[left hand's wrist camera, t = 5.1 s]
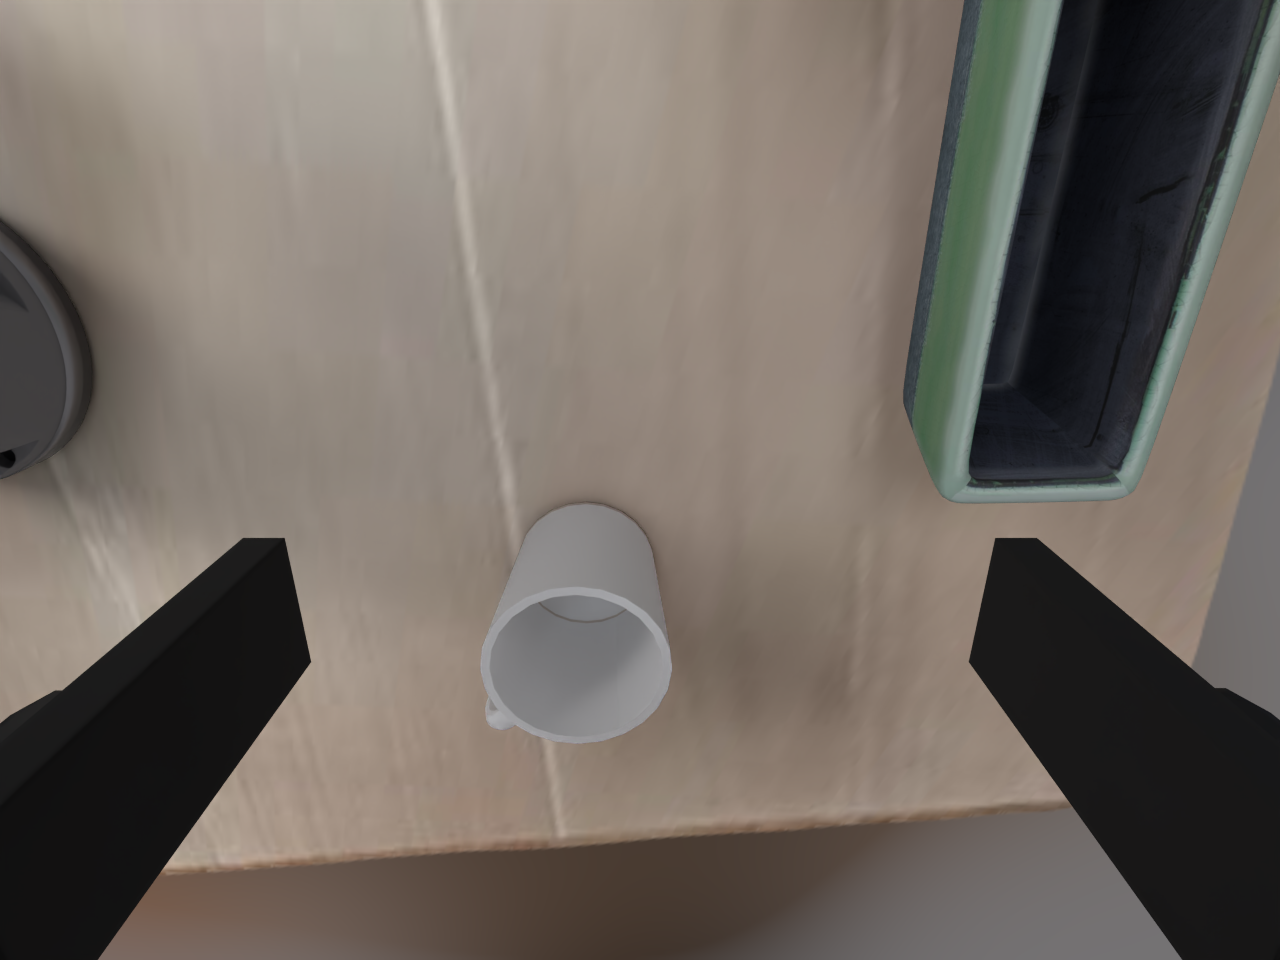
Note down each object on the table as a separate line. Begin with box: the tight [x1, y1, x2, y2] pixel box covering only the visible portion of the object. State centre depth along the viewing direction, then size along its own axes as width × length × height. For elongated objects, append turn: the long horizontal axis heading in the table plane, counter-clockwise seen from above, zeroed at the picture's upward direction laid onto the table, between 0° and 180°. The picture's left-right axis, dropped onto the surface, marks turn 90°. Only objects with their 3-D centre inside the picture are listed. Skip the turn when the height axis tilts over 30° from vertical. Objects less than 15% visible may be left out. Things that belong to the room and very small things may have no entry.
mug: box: [480, 502, 672, 744], centre depth 37 cm, size 11×9×10 cm
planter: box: [903, 0, 1280, 503], centre depth 22 cm, size 28×7×7 cm, turn 1°
